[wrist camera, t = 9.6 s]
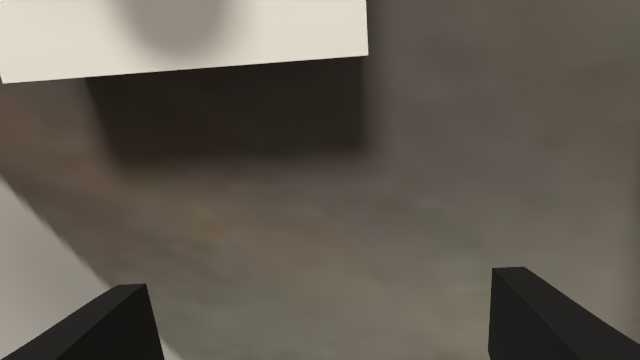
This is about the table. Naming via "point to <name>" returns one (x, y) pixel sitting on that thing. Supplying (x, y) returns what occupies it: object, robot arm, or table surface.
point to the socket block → (171, 35)
